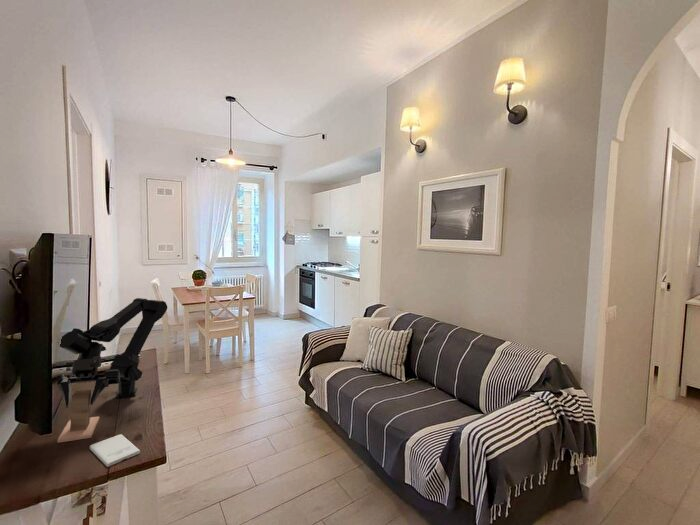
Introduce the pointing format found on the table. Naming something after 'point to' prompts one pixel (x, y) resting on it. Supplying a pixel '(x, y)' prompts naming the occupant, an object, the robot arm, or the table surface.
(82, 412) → the brown rectangular block
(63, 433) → the terracotta mat
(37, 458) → the table surface
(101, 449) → the external hard drive
